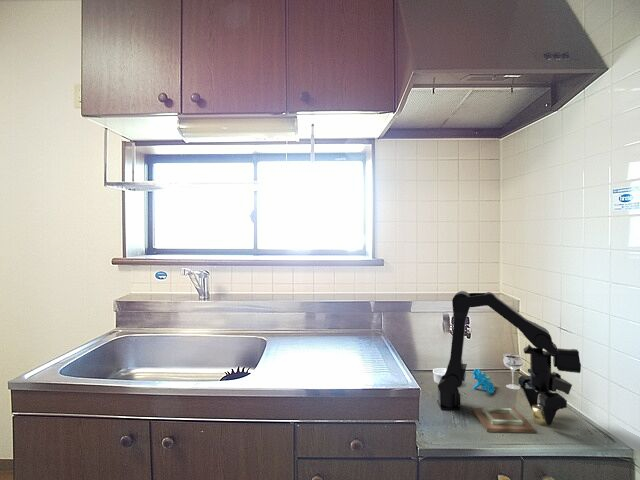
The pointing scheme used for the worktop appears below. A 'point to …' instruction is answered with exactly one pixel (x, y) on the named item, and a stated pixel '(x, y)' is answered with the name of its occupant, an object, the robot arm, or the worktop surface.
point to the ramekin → (438, 374)
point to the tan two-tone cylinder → (538, 415)
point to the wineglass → (512, 366)
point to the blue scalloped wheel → (483, 381)
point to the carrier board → (502, 420)
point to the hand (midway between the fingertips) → (541, 417)
